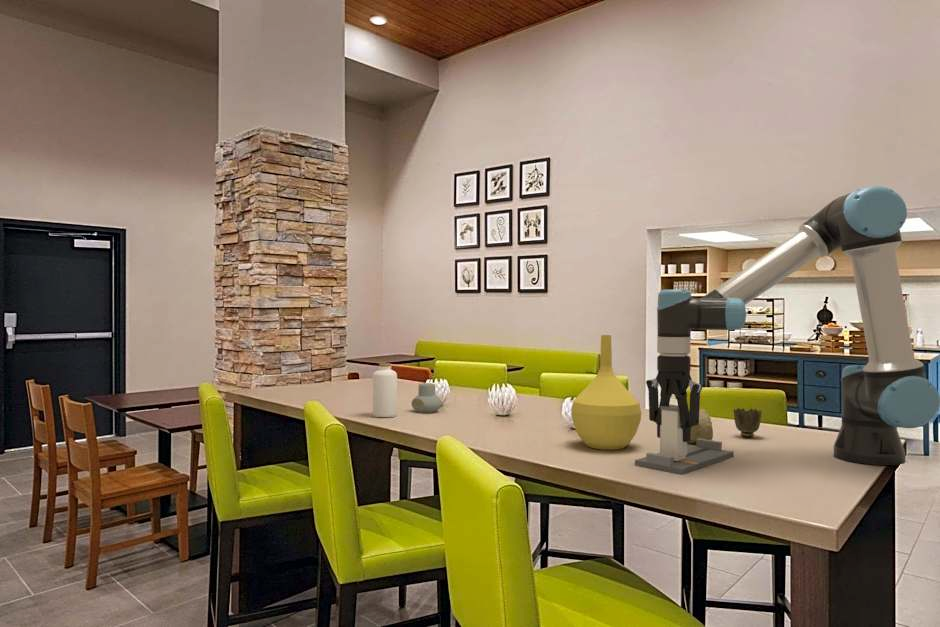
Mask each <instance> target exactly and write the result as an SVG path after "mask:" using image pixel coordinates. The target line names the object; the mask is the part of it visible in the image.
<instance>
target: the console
mask: <svg viewBox="0 0 940 627" xmlns="http://www.w3.org/2000/svg"><path fill="white" fill-rule="evenodd" d="M645 455H646V456H643V457H641V458H638V459H634V465H635V466H637V467H642V468H647V469H653V470H657V471H662V472H668V473H673V474H678V475H685V474H688V473H690V472H693V471H696V470H699V469H702V468H705V467H707V466H708V467H709V466H711V465H713V464H716V463H719V462H722V461H725V460H727V459H731V458H734V451H733V450H732V451H731V450H726V449H723V441H718V440H713V439H712V440H706V439H700V438H699V439H697V443H696V445H695V444H694V445H693V444H690V443H687V455H686V458H685V459H682V460H679V461H674V457H672V456H666V455H661V453H660V452H658V453H655V452H647V453H646V454H645Z"/></svg>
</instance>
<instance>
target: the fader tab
mask: <svg viewBox="0 0 940 627" xmlns="http://www.w3.org/2000/svg"><path fill="white" fill-rule="evenodd" d="M660 410H662V439H661V455H666V456H672V457H674V461H679V460H682V459H685V458H686V455H685V456H678V444H679V428H681V427H680V426H682V425H681V419H680V414H679V411H680V408H678V404H670V403H669V405H666V406H660Z"/></svg>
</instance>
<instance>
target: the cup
mask: <svg viewBox="0 0 940 627" xmlns="http://www.w3.org/2000/svg"><path fill="white" fill-rule="evenodd" d="M762 412H763V411H762V410H761V409H760V410H758V408H754V409H753V408H749V409H748V410H746V409H745V408H744V407H742V408H739V407H737V408H736V409H735V408H734V409H733V417H734V424H735V427H736V429H737V430H738V431H740V437H741V438H743V439H753V438H754V437H755V433H756V432H757V431H758V430H759V429H760V425H761V419H762Z"/></svg>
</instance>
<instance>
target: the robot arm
mask: <svg viewBox="0 0 940 627" xmlns="http://www.w3.org/2000/svg"><path fill="white" fill-rule="evenodd" d="M907 216H908V208H907V206H906V203H905V201H904V199H903V198H902V197H901V195H900V194H899V193H898V192H897V191H894V190H893V189H891V188H889V187H887V186H882V185H871V186H867V187H866V186H865V187H862V188H858V189H855V190H853V191H852V192H849V193H847V194H845V195H842V196H839V197H837V198H835V199H834V200H832V201H830V202H829V203H828V204H827V205H825V206H824V207H823V208H822V209H820V210H819V211H818V212H816V214H814V215H813V216H812V217H810V219H807V221H805V222H803V223H802V224H801V225H800V226H799V227H798V231H797V232H795V234H794V235H792V236H791V237H789V238H787V239H786V240H785V241H784V242H782V243H780V244H779V245H777V246H776V247H774V248H773V249H771V250H770V251H769V252H767V253H765V254H764V255H763V256H761V257H760V258H758V259H756V261H754V262H752V263H751V264H749V265H748V266H747V267H745V268H743V269H742V270H741V271H739V272H738V273H736V274H735V275H733V276H732V277H730V278H729V279H728V280H726V281H724V282H723V283H721V284H720V285H718V286H717V287H716V288H714V290H711V291H710V292H709V293H707V294H705V295H704V296H702V297H701V298H698V297H692V293H691V290H689V289H682V288H681V289H662V290H660V291H659V292H658V294H657V295H658V296H657V307H656V310H657V312H656V314H657V315H656V316H657V320H656V321H657V323H656V324H657V325H656V326H657V327H656V328H657V344H656V351H657V353H658V354H659V355H657V357H656V369H657V375H656V377H655V378H652V379H648V380H646V381H645V383H646V384H645V385H646V387H647V389H648V413H649V414H648V417H649V421H651V422H654V423H655V424H656V436H657V438H658V439H659V453H661V439H662V410H660V406H666V405H669V404H670V402H671V398H672V397H673V395H674V397H675V400H676V402H677V405H678V408H680V411H679V414H680V419H681V425H682V426H680V427H681V428H679V444H678V456H685V455H687V445H688V442H689V441H690V436H691V427H692V426H696V425H698V424H699V409H700V405H701V404H700V401H701V399H700V398H701V392H702V390H703V388H704V386H703V385H704V384H702V383H700V382H699V383H697V382H696V381H694V380H693V379H692V376H691V370H692V369H691V366H692V365H691V364H692V363H691V360H692V359H691V356H689V354H691V337H692V336H691V334H692V330H694V331H695V330H696V331H697V330H705V331H706V330H709V331H727V332H728V331H735V330H736V331H738V330H742V329H743V328H744V327H745V324H746V319H747V309H746V305H747V304H749V303H750V302H752V301H753V300H755V299H756V298H757V297H759V296H761V295H762V294H764V293H765V292H766V291H768V290H770V289H772V288H773V287H775V285H777V284H779V283H780V282H782V281H783V280H785V279H786V278H788V277H789V276H791V275H792V274H794V273H795V272H796V271H798V270H799V269H801V268H803V267H804V266H806V265H807V264H809V263H810V262H812V261H814V260H815V259H817V257H822V258H823V257H826V256H828V255H829V254H832V253H833V252H835V251H836V250H839V249H840V248H841V252H842V254H843V255H845V256H847V257H848V258H850V260H851V264H852V270H853V276H854V277H853V278H854V283H855V287H856V289H855V290H856V294H857V301H858V305H859V306H858V307H859V310H860V316H861V317H860V318H861V321H862V323H861V324H862V327H863V333H864V339H865V345H866V351H867V355H868V362H867V364H851V365H846V366H844V367H843V368H842V371H841V378H840V382H841V425H840V428H839V431H838V433H837V436H836V440H835V441H834V443H833V444H834V445H833V456H834V457H836V458H837V459H840V460H844V461H848V462H852V463H858V464H866V465H873V466H874V465H879V466H898V465H900V466H901V465H903V464H905V463H906V452H905V448H904V445H903V442H902V440H901V437H900V435H899V434H900V433H899V432H898V431H899V430H898V428H902V429H917V428H920V427H923V426H925V425H926V424H928V423H930V422H931V420H932V419H933V418H934V417H935V416H936V415H937V414H938V412H939V409H940V392H939V390H938V389H937V387H936V386H935V385H934V383H932V382H931V381H930V380H928V379H927V377H926V376H927V375H926V371H925V370H926V369H925V365H924V363H923V362H921V361H920V360H919V359H917V358H916V357H915V356H914V350H913V345H912V339H911V334H910V333H911V332H910V328H909V323H908V318H907V311H906V306H905V305H906V304H905V299H904V294H903V289H902V288H903V287H902V283H901V277H900V276H901V275H900V272H899V271H900V270H899V266H898V259H897V254H896V252H897V249H898V248H899V247H900V245H901V244H902V241H903V240H902V235H901V234H902V233H901V230H900V229H901V228H903V226H904V224H905V223H906V219H907ZM659 387H660V388H661V389H660V390H661V391H660V394H659ZM688 388H689V391H690V393H689V404H688V392H687V389H688ZM659 397H660V399H659Z"/></svg>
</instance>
